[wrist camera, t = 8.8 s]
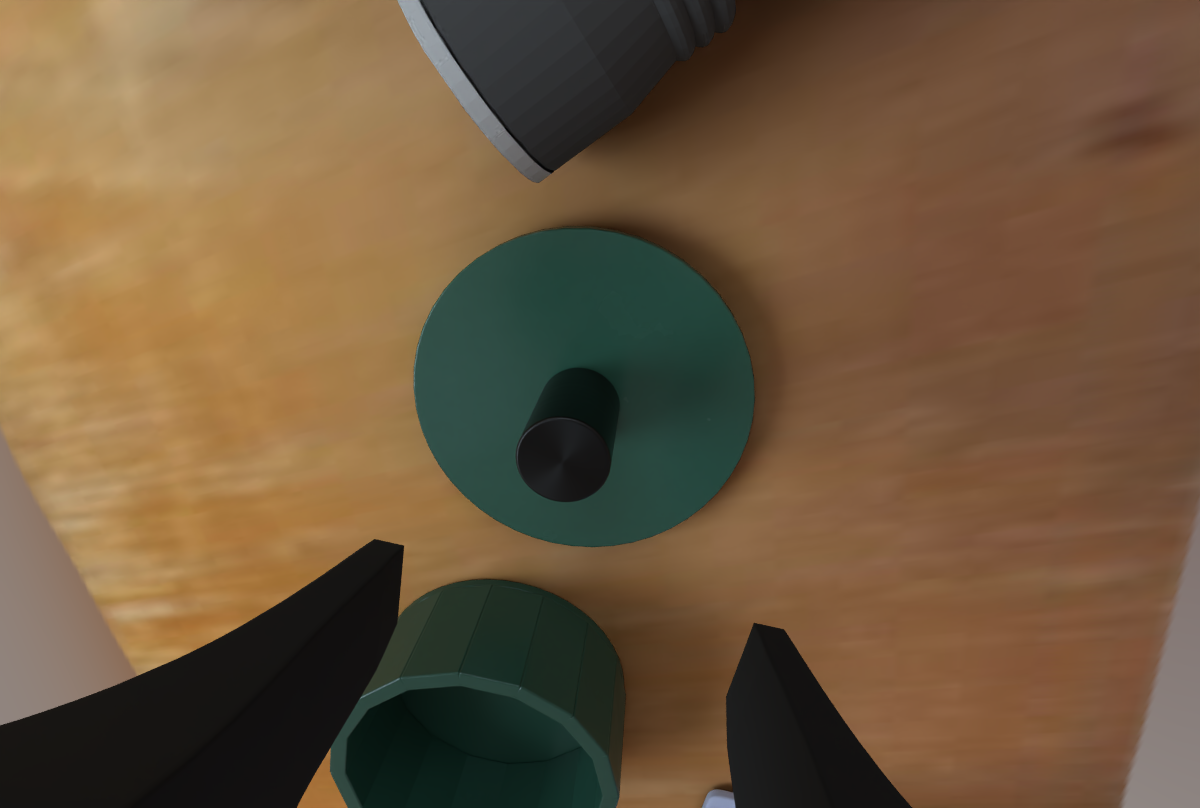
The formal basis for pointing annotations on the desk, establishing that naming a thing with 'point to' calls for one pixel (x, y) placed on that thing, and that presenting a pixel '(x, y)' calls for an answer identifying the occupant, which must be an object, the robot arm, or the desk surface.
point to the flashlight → (557, 64)
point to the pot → (487, 707)
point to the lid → (584, 386)
